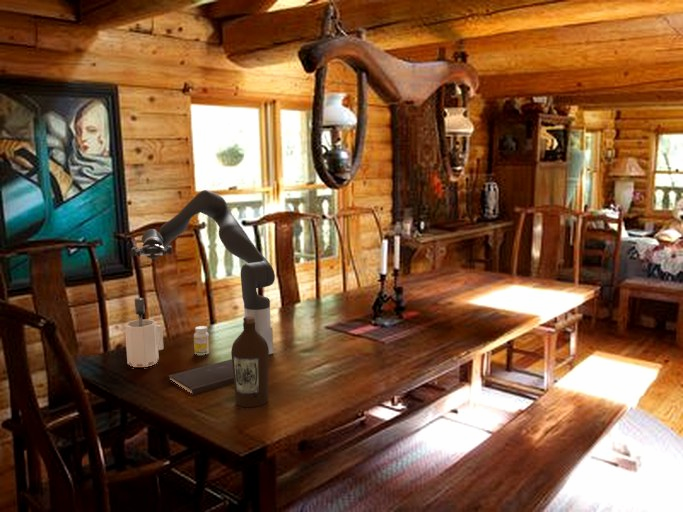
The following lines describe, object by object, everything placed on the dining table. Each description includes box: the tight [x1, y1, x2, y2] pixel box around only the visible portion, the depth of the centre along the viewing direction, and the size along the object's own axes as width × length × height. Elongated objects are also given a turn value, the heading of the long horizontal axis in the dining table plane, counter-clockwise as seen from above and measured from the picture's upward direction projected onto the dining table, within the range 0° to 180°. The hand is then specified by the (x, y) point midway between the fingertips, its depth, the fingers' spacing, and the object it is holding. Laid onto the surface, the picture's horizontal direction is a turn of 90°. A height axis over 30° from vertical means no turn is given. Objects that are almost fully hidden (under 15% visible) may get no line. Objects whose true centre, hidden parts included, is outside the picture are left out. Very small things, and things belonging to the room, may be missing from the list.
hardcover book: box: [168, 358, 234, 396], centre depth 191 cm, size 16×23×2 cm
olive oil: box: [230, 316, 270, 408], centre depth 171 cm, size 11×11×25 cm
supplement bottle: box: [193, 325, 210, 356], centre depth 215 cm, size 5×5×10 cm
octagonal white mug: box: [124, 318, 164, 367], centre depth 205 cm, size 10×12×14 cm
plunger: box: [134, 297, 145, 327], centre depth 203 cm, size 7×7×19 cm
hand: (151, 253), depth 215 cm, fingers open, 8 cm apart
